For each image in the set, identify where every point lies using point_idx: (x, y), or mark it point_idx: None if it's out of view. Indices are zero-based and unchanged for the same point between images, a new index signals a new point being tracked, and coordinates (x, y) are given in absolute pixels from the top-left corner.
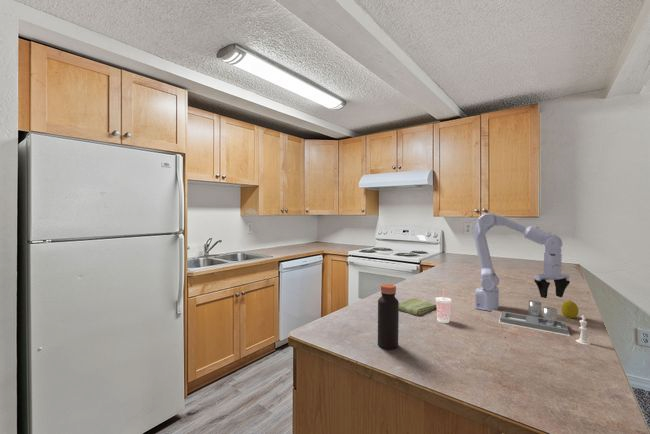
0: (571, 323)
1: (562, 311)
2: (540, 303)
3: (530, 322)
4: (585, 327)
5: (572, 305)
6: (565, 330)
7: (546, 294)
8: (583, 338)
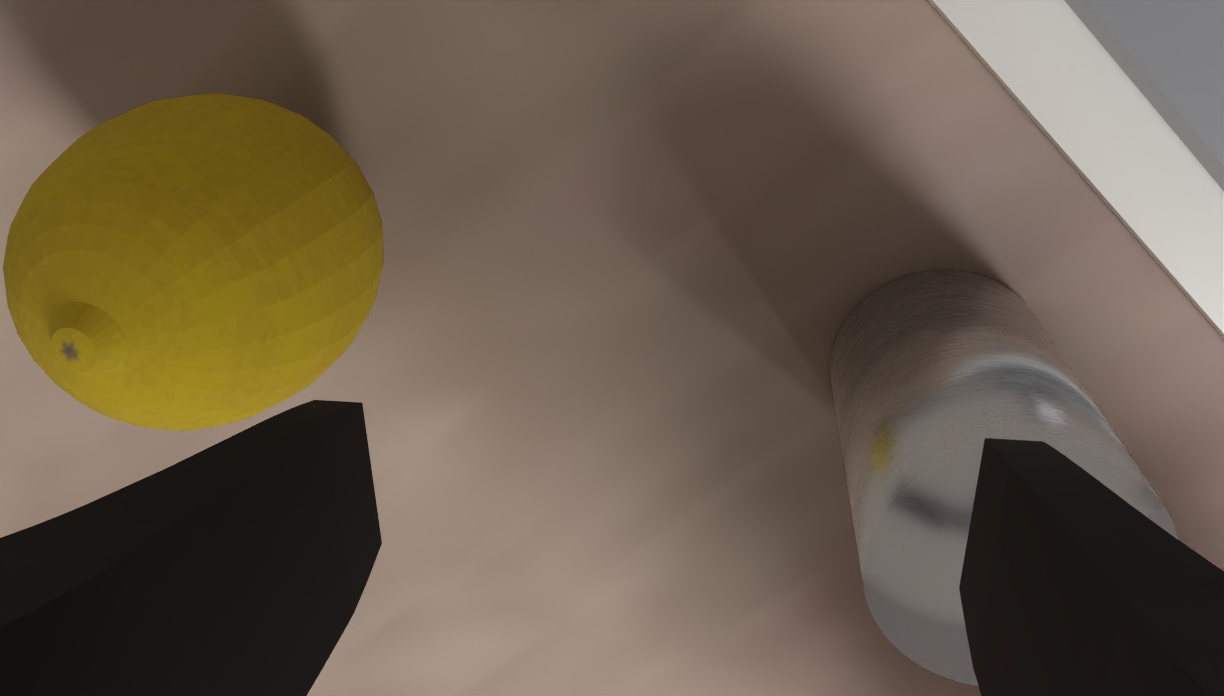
0: (457, 5)
1: (376, 292)
2: None
3: None
4: None
5: (163, 195)
6: None
7: (1075, 494)
8: None
